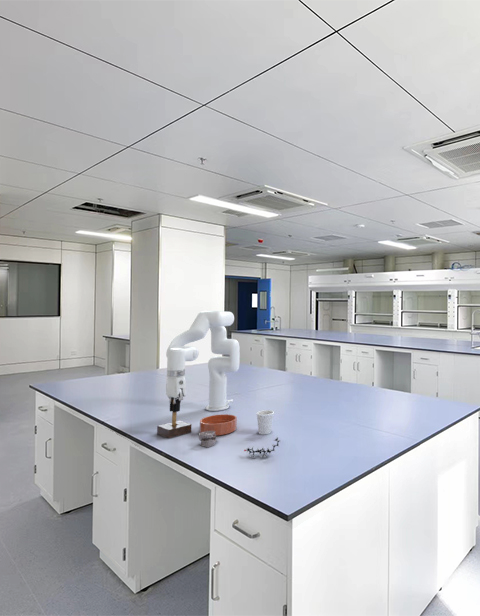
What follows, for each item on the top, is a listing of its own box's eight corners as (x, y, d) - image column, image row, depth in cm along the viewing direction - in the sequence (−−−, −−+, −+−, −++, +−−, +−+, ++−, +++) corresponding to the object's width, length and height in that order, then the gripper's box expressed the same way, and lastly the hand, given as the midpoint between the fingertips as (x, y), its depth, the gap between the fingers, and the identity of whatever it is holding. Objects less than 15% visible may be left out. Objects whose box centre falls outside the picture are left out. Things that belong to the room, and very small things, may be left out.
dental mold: (205, 440, 174) (205, 429, 174) (219, 441, 174) (219, 430, 174) (195, 446, 166) (195, 435, 166) (210, 447, 166) (210, 436, 166)
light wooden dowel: (174, 427, 183) (175, 399, 183) (176, 428, 182) (177, 399, 182) (171, 428, 182) (172, 399, 182) (172, 429, 181) (174, 400, 181)
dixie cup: (256, 436, 181) (257, 415, 181) (254, 430, 189) (255, 411, 189) (274, 433, 185) (275, 413, 185) (272, 428, 193) (272, 409, 193)
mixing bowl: (223, 423, 198) (223, 412, 198) (243, 429, 190) (243, 418, 190) (192, 432, 184) (192, 420, 184) (212, 439, 176) (212, 426, 176)
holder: (179, 428, 189) (179, 420, 189) (191, 432, 184) (191, 424, 184) (157, 434, 180) (157, 425, 180) (168, 438, 175) (168, 429, 175)
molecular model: (245, 453, 159) (246, 434, 159) (281, 453, 161) (282, 434, 161) (241, 460, 153) (241, 440, 153) (278, 459, 155) (279, 439, 155)
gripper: (192, 374, 181) (191, 412, 181) (175, 370, 189) (173, 407, 189) (176, 376, 175) (175, 415, 175) (159, 372, 183) (158, 410, 183)
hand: (174, 410), depth 182 cm, fingers closed on light wooden dowel, 1 cm apart
